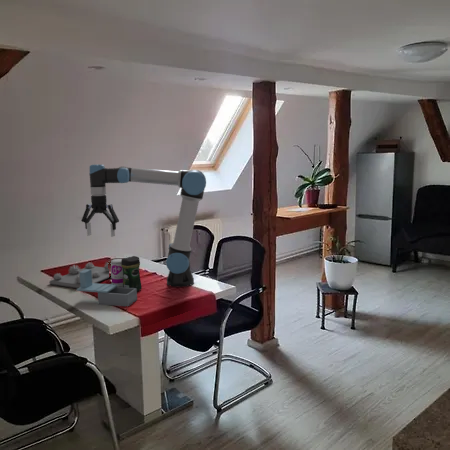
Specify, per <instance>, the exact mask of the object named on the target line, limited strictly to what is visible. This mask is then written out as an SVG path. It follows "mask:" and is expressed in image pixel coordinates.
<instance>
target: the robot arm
mask: <svg viewBox="0 0 450 450" xmlns="http://www.w3.org/2000/svg"><path fill="white" fill-rule="evenodd" d="M130 182H131V183H143V184H153V185H165V186H177V187H178V188H180V189H181V190H180V192H179V193H180V197H181V199H182V200H181V204H180V208H179V213H178V219H177V223H176V229H175V233H174V238H173V242H171V243H169V244H168V253H167V258H166V259H165V263H166V268H167V269H168V274H167V278H166V285H167V286H170V287H174V288H182V287H183V288H184V287H185V288H186V287H189V286H192V285H194V283H195V278H194V276H193V273H192V270H191V254H192V250H193V249H192V247H191V245H190V244H191V240H192V236H193V232H194V228H195V223H196V222H195V221H196V216H197V212H198V208H199V202H200V201H202V200H203V198H204V193H205V189H206V186H207V180H206V176H205V174H204V172H202V171H201V170H198V169H188V170H186V169H180V170H179V171H176V170H175V171H174V170H164V169H163V170H162V169H150V168H140V167H139V168H138V167H127V166H119V167H113V168H110V167H109V168H106V167H105V164H90V165H89V183H90V185H89V186H90V187H89V189H90V195H91V196H90V201H91V203H87V204H86V205H85V210H84V213H83V215H82V218H81V222H82V223H84V224H85V225H84V226H85V227H84V228H85V230H86V235H87V237H89V236H91V235H92V225H91V222H90V221H91V220H92V219H93V218H94V216H95V215H96V214H103V215H104V216H105V217H106V218H107V220H109V223H110V237H111V238H113V237H115V236H116V233H115V232H116V231H115V230H117V223H119V222H120V219H119V218H118V215H117V213H116V212H115V210H114V207H113V204H107V195H106V194H107V188H106V186H107V185H106V184H125V183H126V184H127V183H130ZM91 209H92V210H91ZM89 213H90V214H89Z"/></svg>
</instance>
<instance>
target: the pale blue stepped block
mask: <svg viewBox="0 0 450 450" xmlns="http://www.w3.org/2000/svg"><path fill="white" fill-rule="evenodd" d="M80 286H81V287H80V288H78V289H76V291H77V292H89V293H90V292H91V293H98V292H101V293H108V292H110V291H111V290H113V289H114V288H116V287H117V285H112V283H99V282H98V283H92V272H91V269H85V270H83V271H81V272H80Z"/></svg>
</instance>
